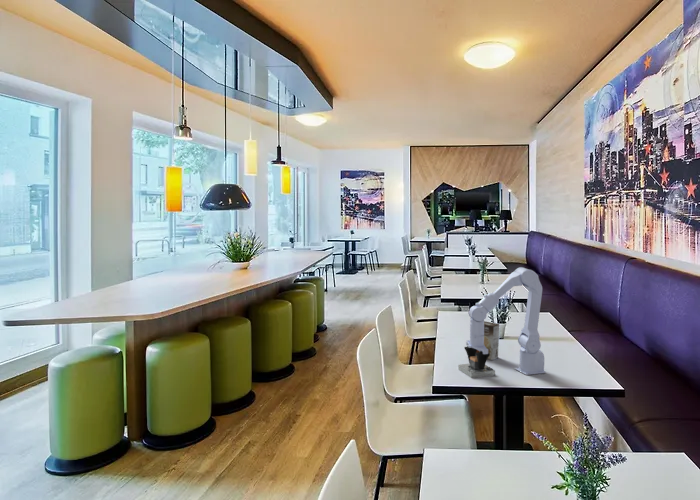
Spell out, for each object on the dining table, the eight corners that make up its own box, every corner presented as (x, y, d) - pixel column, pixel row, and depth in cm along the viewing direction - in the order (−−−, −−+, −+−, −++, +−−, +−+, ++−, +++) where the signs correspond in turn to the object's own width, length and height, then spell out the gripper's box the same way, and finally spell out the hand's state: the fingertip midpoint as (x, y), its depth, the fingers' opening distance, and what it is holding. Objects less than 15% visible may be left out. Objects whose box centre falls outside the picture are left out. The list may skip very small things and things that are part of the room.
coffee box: (474, 356, 225) (474, 322, 223) (480, 353, 229) (481, 320, 228) (492, 360, 218) (493, 326, 217) (499, 357, 223) (499, 323, 222)
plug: (478, 369, 205) (478, 355, 205) (483, 372, 202) (483, 358, 201) (469, 370, 204) (469, 356, 204) (474, 373, 200) (474, 359, 200)
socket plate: (481, 366, 210) (481, 361, 209) (495, 375, 199) (495, 369, 199) (458, 369, 207) (458, 363, 207) (471, 377, 196) (471, 372, 196)
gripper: (459, 331, 208) (459, 361, 209) (477, 339, 194) (476, 372, 195) (474, 330, 209) (474, 360, 210) (492, 338, 195) (492, 370, 197)
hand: (476, 366), depth 203 cm, fingers open, 7 cm apart
